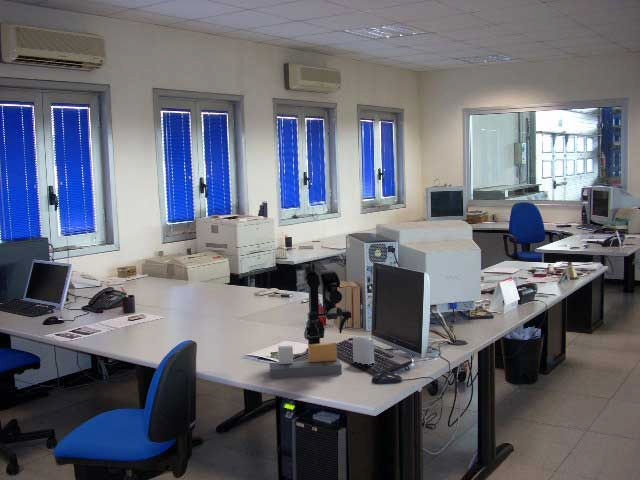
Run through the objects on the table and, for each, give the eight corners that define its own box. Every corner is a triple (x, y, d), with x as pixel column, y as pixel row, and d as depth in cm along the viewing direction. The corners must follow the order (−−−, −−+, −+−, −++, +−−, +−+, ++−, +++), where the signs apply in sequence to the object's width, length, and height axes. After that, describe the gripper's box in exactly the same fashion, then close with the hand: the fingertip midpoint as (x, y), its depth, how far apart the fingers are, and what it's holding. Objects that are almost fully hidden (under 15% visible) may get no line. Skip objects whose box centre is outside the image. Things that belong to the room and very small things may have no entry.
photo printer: (351, 362, 307) (351, 335, 306) (358, 360, 310) (357, 333, 309) (369, 366, 300) (369, 338, 299) (375, 364, 303) (375, 336, 302)
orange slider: (308, 360, 297) (308, 344, 297) (336, 358, 299) (335, 342, 298) (309, 362, 294) (308, 346, 294) (337, 360, 296) (336, 344, 295)
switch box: (269, 372, 297) (269, 363, 296) (338, 367, 300) (338, 358, 300) (271, 378, 287) (270, 369, 286) (341, 373, 290) (341, 364, 290)
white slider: (278, 362, 296) (278, 346, 295) (292, 361, 297) (292, 345, 296) (279, 364, 293) (278, 348, 292) (293, 363, 294) (292, 347, 293)
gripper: (310, 304, 292) (311, 340, 293) (353, 301, 294) (354, 337, 296) (306, 299, 302) (308, 334, 304) (348, 296, 305) (349, 331, 307)
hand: (330, 334), depth 303 cm, fingers open, 9 cm apart
